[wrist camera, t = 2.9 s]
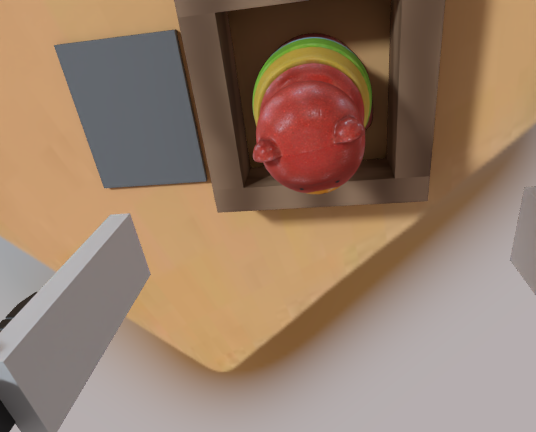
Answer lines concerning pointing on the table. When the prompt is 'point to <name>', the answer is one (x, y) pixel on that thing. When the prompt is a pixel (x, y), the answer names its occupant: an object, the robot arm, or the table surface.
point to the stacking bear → (312, 114)
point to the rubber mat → (135, 108)
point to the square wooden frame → (370, 171)
